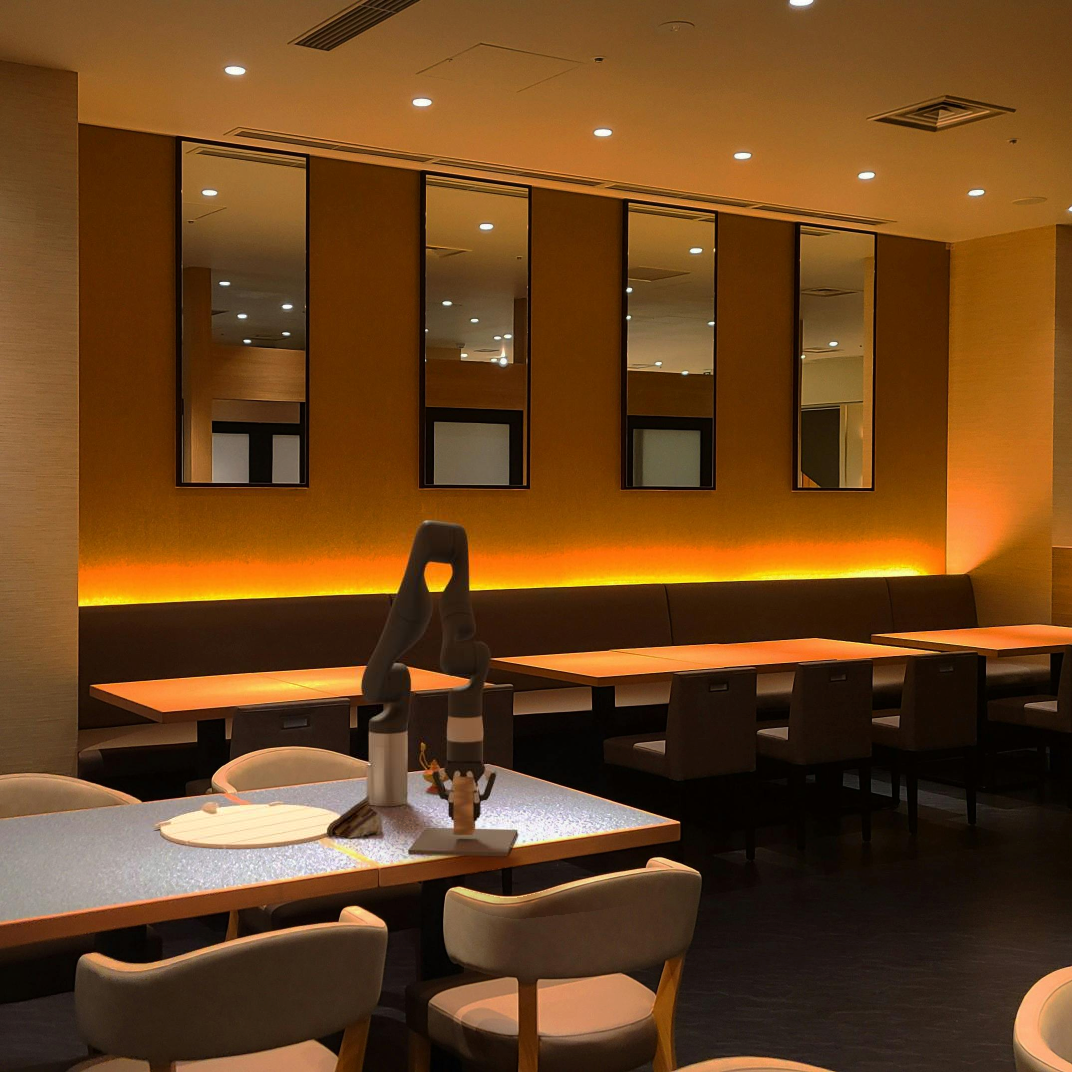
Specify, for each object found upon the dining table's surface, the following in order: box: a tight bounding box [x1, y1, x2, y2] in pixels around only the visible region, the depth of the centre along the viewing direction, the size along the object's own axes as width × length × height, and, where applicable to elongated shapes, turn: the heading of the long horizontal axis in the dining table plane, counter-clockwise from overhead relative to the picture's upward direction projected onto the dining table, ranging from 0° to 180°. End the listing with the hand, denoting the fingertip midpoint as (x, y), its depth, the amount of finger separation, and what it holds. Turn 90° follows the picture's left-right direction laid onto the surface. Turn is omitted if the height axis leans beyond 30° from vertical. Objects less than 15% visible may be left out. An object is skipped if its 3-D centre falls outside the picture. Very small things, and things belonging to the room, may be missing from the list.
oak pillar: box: [453, 776, 476, 835], centre depth 272 cm, size 4×4×12 cm
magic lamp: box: [419, 742, 450, 793], centre depth 328 cm, size 7×18×11 cm, turn 40°
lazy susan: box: [153, 801, 341, 849], centre depth 288 cm, size 40×39×3 cm
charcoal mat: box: [407, 827, 518, 857], centre depth 272 cm, size 20×20×1 cm
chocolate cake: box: [327, 796, 383, 840], centre depth 281 cm, size 10×7×12 cm
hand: (464, 819), depth 273 cm, fingers closed on oak pillar, 4 cm apart
